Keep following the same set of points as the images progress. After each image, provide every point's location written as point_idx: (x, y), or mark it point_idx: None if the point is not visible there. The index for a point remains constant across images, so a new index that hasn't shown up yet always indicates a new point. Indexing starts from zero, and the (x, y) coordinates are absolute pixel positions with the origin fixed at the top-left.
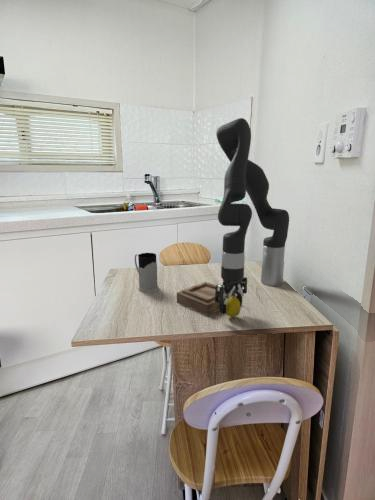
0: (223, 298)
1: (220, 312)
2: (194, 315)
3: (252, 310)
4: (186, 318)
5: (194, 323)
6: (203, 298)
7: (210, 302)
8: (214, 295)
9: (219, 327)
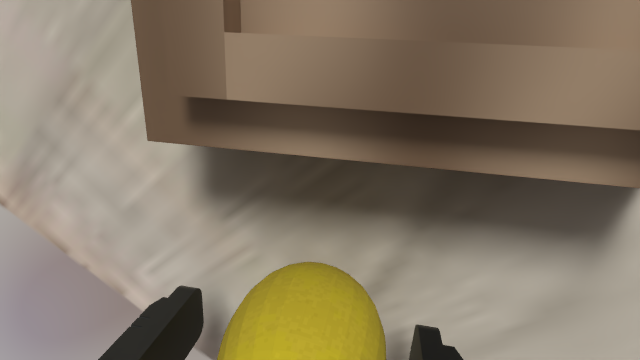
0: (451, 169)
1: (182, 289)
2: None
3: (550, 348)
4: (52, 14)
5: (62, 124)
6: (164, 13)
7: (225, 120)
8: (373, 68)
9: (160, 281)
